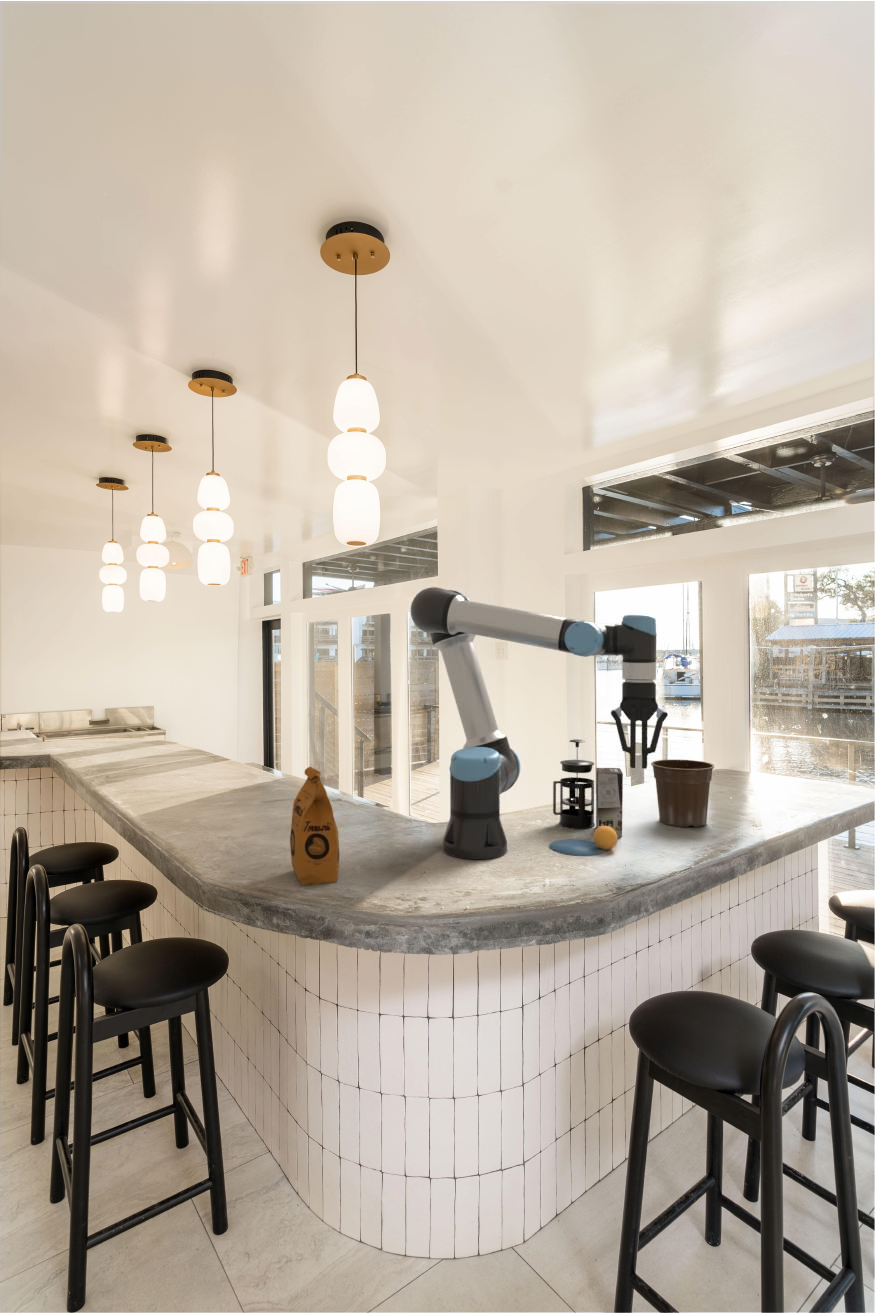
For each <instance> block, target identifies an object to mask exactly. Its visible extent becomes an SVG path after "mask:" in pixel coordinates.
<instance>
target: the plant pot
mask: <svg viewBox="0 0 875 1313" xmlns="http://www.w3.org/2000/svg"><path fill="white" fill-rule="evenodd" d="M650 765H651V767H652V770H653V771H652V772H653V777H654V779H655V787H656V797H657V805H658V806H657V807H658V808H657V809H658V817H659V818H658V820H659V821H660V822H662V823H663V824H665V825H668V826H673V827H678V828H688V827H690V826H692V827H693V828H699V827H703V826H705V825H706V824H707V819H708V808H709V807H708V806H709V795H710V786H711V784H710V783H711V782H712V775H713V769H714V768H715V765H714V764H713V763H710V762H707V761H702V760H691V759H658V760H654V761H652V762H651V764H650Z"/></svg>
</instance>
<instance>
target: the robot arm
mask: <svg viewBox="0 0 875 1313" xmlns="http://www.w3.org/2000/svg"><path fill="white" fill-rule="evenodd" d="M411 601H412V602H411V604H410V617H411V620H412V621H413V623H414V625H415V626H416V627H417V628H418V629H419V630H420V631H422V632H424V633H427V634H429V635H430V636H429V637H430V639H431V643H432V646H433V648H435V649H437V650H439V652H440V653H441V656H442V660H443V663H444V665H445V666H444V667H445V669H446V673H447V677H448V681H449V683H450V688H451V690H452V694H453V697H454V700H455V704H456V708H457V710H458V711H457V712H458V714H459V718H460V721H461V725H462V728H463V732H464V735H465V738H466V741H465V744H464V745H463V747H462V748H461V749H459V750H458V749H457V750H456V751H455V752H453V753H452V754H451V757H450V764H449V765H450V766H449V773H450V774H449V779H450V780H449V783H450V784H449V788H450V790H449V791H450V792H449V794H450V796H449V797H450V798H449V799H450V800H449V801H450V803H449V804H450V809H449V810H450V812H449V813H450V815H449V820H448V823H447V826H446V830H445V833H444V836H443V839H442V851H443V853H445V854H447V855H448V856H452V857H455V858H459V859H467V860H487V859H488V860H489V859H493V858H498V857H501V856H503V855H505V854H506V853H507V852H508V841H507V837H506V834H505V830H504V827H503V824H502V820H501V817H500V816H501V815H500V808H501V806H500V803H501V801H500V800H501V796H500V795H501V794H502V793H505V792H507V791H509V790H510V789H512V787H513V786H514V785H515V784H516V782H517V781H518V778H519V777H520V773H521V762H520V759H519V756H518V754H517V753H516V751H515V750H514V749H512V748H511V747H510V742H509V740H508V737H507V735H506V734H505V733H502V732H501V731H500V729H499V727H498V724H497V720H496V717H495V716H496V715H495V713H494V710H493V707H492V703H491V699H490V696H489V693H488V690H487V686H486V683H485V679H484V676H483V674H482V669H481V666H480V663H479V659H478V655H477V653H476V650H475V646H474V640H475V639H476V638H475V637H476V636H480V637H486V638H491V639H497V640H500V641H501V640H502V641H506V642H512V643H515V644H516V643H517V644H522V645H528V646H533V647H538V648H543V649H549V650H554V651H558V652H563V653H568V654H572V655H575V656H579V657H585V658H587V657H590V656H591V657H592V656H593V657H596V656H599V657H600V656H618V657H619V656H622V660H621V661H622V662H621V663H622V665H621V668H622V669H621V670H622V671H621V672H622V673H621V674H622V677H621V678H622V680H624V681H623V682H622V684H621V690H622V692H621V695H622V696H621V702H620V704H619V706H618V707H617V708H615V709H612V710H611V711H610V715H611V717H612V718H613V720H614V721H615V725H616V729H617V733H618V737H619V741H620V746H621V749H622V751H623V752H624V753H628V754H629V767H630V769H634V782H635V784H643V769H644V770H645V769H646V770H647V768H648V756H649V754H652V753H655V752H656V750H657V747H658V743H659V740H660V739H659V738H660V735H661V730H662V727H663V723H664V721H665V720H666V719H667V717H668V714H669V713H668V712H667V711H666V710H662V709H661V708H659V704H658V703H657V684H656V682H654V681H655V680H656V679H657V623H656V617H654V616H653V615H651V614H627V615H624V616H622V620H621V623H620V622H619V623H594V622H592V621H588V620H580V619H579V620H578V619H573V618H567V617H564V616H563V617H562V616H556V615H550V614H545V613H541V612H540V613H538V612H533V611H527V610H523V609H522V610H521V609H517V608H512V607H504V606H499V605H493V604H487V603H482V602H477V601H471V600H470V599H469V598H468V597H467V595H464V594H463V593H462V592H459V591H457V590H452V589H445V588H441V587H435V586H431V587H426V588H423V589H422V590H420V591H419V592H418V593H417V594H416V595H415V596H414V597H413V599H412V600H411ZM622 712H623V713H624V715H625V717H626V718H627V719H628V720H629V722H630V725H629V729H630V730H629V732H630V733H629V737H630V738H629V740H630V741H629V743H630V744H629V746H628V744H627V739H626V735H625V731H624V727H623V724H622V720H621V717H622ZM655 713H656V715H655ZM654 715H655V716H656V718H657V719H656V723H655V727H654V730H653V733H652V734H653V735H652V737H651V741H650V746H648V721H649V720H650V719H651V718H652V717H653V716H654ZM638 721H640V722H641V753H637V752H636V750H637V749H636V742H637V739H636V738H637V737H636V736H637V734H636V733H637V731H636V730H637V722H638Z"/></svg>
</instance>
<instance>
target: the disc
mask: <svg viewBox="0 0 875 1313" xmlns="http://www.w3.org/2000/svg"><path fill="white" fill-rule="evenodd" d="M549 848H550V849H551V850H552V851H554V852H556V851H557V853H559V852H560V854H563V853H564V854H563V855H568V854H569V856H570V855H571V856H578V855H579V857H580V856H581V857H582V856H585V857H586V856H588V857H589V856H595V855H599V854H602V853H604V852H605V851H606V850H603V849H601V848H599V847H598V846H597V845H596V844H595V842H594V840H590V839H588V840H587V839H583V838H581V839H580V838H562V839H557V840H556V839H555V840H553V841H551V842H550V843H549Z"/></svg>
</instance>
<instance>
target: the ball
mask: <svg viewBox="0 0 875 1313" xmlns="http://www.w3.org/2000/svg"><path fill="white" fill-rule="evenodd" d="M593 841H594V842H595V844H596V845H597V846H598V847H599V848H601V849H603V850H605V851H608V850H611V849H613V848H614V847H616V846H617V843H618V837H617V834H616V832H615V830H614V829H612V828H611V827H609V826H601V827H599V828H597V829H596V828H595V831H594V833H593Z"/></svg>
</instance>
